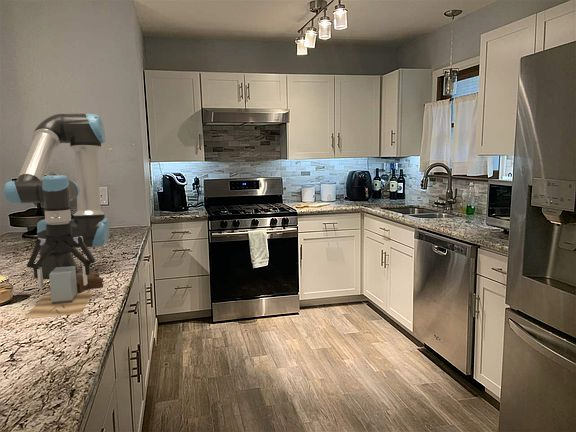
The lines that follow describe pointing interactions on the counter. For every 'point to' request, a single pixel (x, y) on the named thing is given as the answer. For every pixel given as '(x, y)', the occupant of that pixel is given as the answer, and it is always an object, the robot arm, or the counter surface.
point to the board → (59, 307)
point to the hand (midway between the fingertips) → (63, 286)
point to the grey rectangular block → (63, 285)
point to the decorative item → (89, 282)
